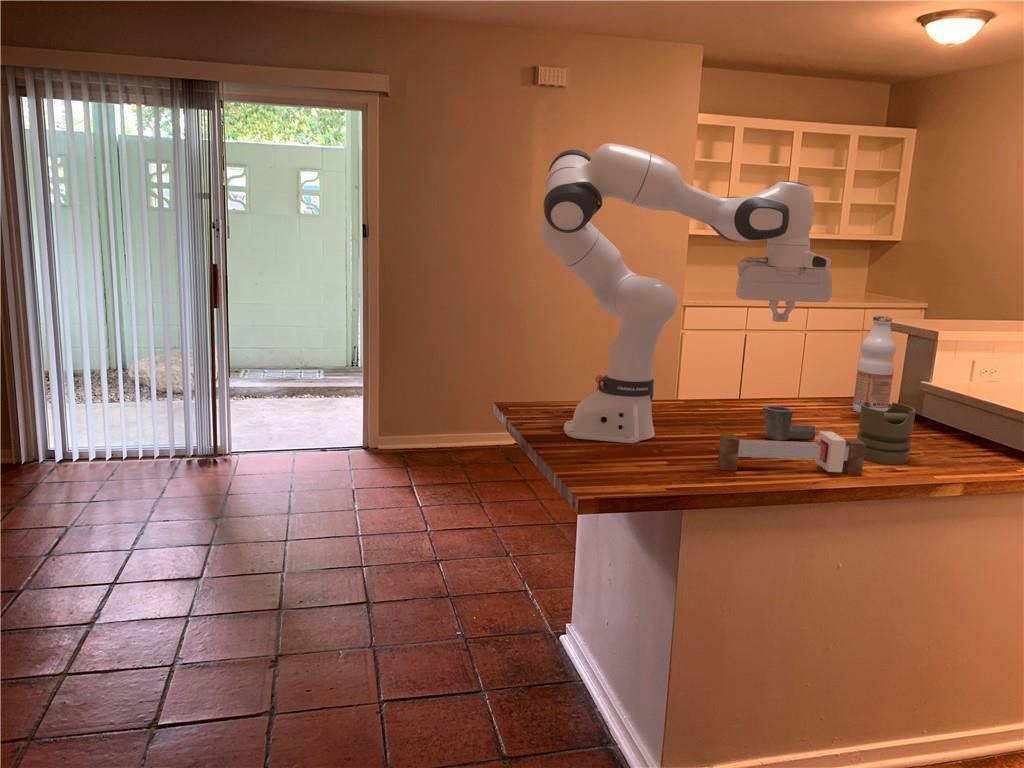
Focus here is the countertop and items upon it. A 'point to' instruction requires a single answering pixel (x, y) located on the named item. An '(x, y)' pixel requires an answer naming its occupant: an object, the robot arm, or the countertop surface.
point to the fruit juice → (876, 366)
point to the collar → (832, 451)
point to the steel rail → (786, 449)
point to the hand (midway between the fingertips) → (780, 321)
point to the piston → (886, 433)
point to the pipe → (785, 425)
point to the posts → (731, 448)
